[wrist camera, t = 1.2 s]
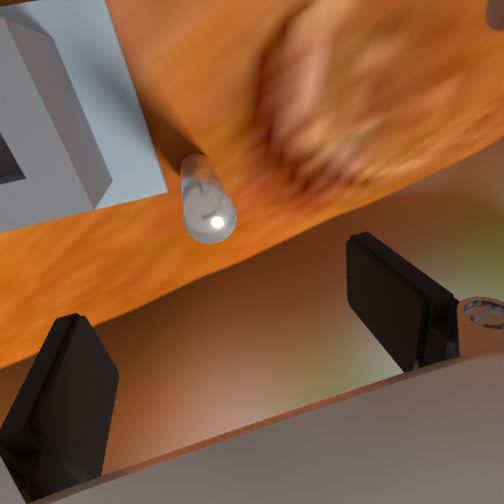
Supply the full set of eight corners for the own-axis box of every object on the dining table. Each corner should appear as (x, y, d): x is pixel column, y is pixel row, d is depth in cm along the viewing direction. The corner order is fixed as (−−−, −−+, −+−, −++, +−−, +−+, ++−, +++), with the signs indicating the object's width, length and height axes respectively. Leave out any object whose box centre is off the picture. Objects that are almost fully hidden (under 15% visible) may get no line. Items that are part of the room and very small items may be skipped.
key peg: (209, 149, 27) (230, 188, 17) (216, 182, 29) (241, 236, 18) (175, 157, 27) (177, 202, 16) (185, 190, 28) (192, 249, 18)
